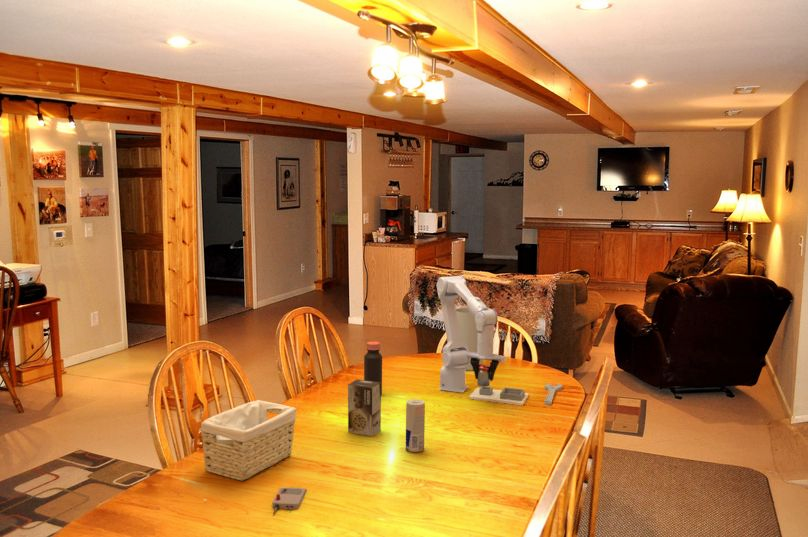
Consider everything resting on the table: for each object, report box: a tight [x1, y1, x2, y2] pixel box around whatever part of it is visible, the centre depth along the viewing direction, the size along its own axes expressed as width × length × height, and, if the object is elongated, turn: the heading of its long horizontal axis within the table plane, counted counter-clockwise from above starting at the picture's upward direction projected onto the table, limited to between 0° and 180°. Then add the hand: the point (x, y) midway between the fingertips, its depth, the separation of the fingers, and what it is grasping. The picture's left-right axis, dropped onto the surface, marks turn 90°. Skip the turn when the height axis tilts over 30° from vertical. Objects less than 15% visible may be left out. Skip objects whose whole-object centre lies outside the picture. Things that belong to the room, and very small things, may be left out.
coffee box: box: [347, 378, 382, 437], centre depth 221 cm, size 9×6×16 cm
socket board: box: [468, 386, 530, 407], centre depth 258 cm, size 20×12×3 cm, turn 70°
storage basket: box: [200, 399, 297, 481], centre depth 195 cm, size 24×16×15 cm
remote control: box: [271, 487, 308, 514], centre depth 173 cm, size 7×16×3 cm, turn 177°
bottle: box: [363, 341, 383, 396], centre depth 258 cm, size 7×7×20 cm
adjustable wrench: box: [543, 382, 563, 406], centre depth 262 cm, size 25×6×2 cm, turn 157°
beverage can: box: [405, 398, 426, 453], centre depth 206 cm, size 6×6×15 cm
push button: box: [476, 363, 491, 387], centre depth 250 cm, size 5×5×7 cm
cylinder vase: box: [452, 307, 483, 371], centre depth 298 cm, size 12×12×25 cm
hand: (484, 379), depth 250 cm, fingers closed on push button, 5 cm apart
